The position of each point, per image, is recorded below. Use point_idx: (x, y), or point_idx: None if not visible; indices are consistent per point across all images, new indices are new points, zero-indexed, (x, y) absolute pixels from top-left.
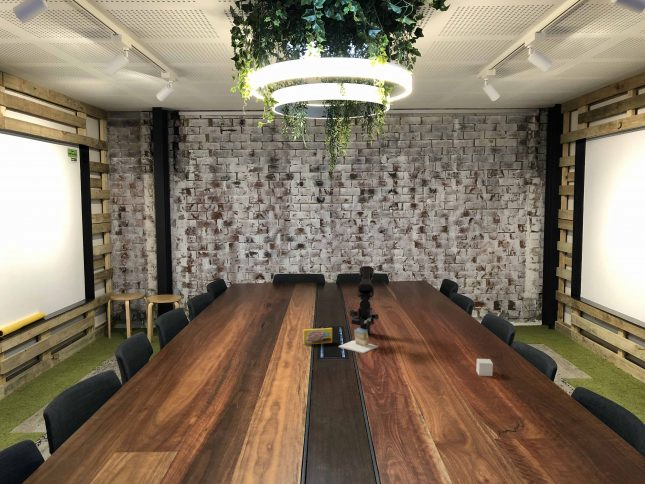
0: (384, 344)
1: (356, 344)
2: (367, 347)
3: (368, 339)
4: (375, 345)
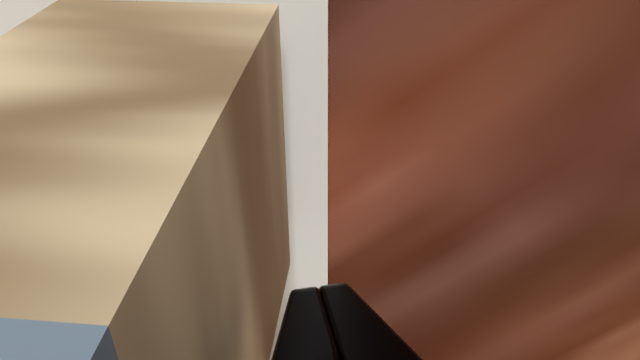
0: (511, 326)
1: None
2: None
3: (272, 326)
4: None
